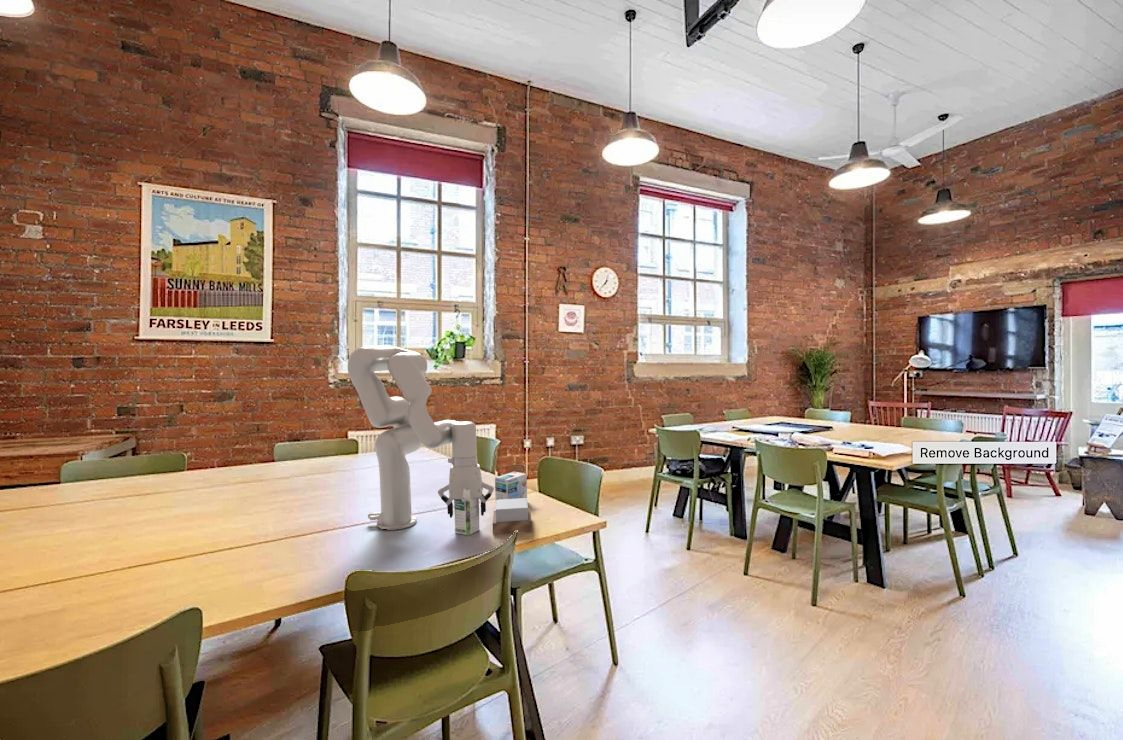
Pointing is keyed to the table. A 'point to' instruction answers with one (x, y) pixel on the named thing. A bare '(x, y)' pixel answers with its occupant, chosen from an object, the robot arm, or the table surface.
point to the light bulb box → (511, 486)
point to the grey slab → (511, 510)
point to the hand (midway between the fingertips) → (467, 515)
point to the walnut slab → (512, 525)
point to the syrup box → (466, 514)
